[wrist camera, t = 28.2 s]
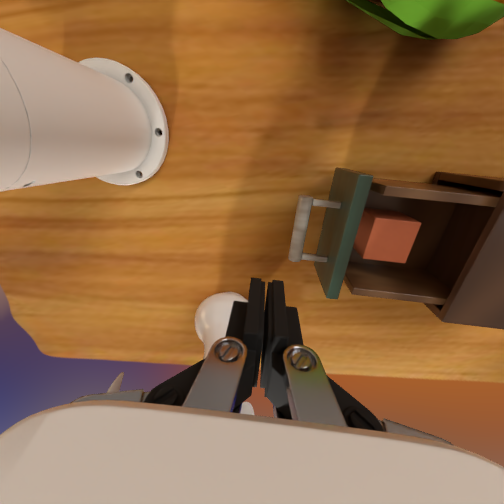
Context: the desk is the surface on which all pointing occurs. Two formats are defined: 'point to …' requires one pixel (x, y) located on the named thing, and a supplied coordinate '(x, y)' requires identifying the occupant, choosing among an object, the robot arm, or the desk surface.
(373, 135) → the desk surface
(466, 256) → the drawer
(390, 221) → the block
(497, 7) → the corn
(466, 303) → the cabinet
